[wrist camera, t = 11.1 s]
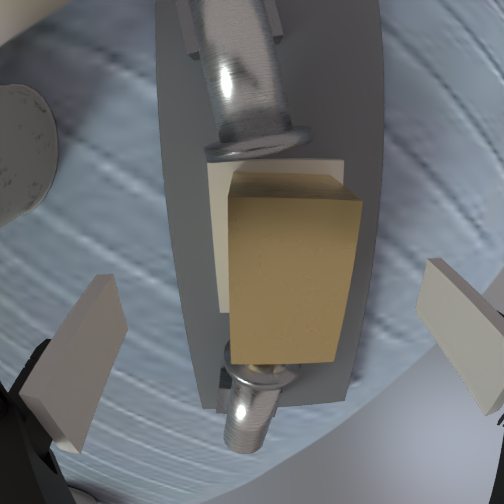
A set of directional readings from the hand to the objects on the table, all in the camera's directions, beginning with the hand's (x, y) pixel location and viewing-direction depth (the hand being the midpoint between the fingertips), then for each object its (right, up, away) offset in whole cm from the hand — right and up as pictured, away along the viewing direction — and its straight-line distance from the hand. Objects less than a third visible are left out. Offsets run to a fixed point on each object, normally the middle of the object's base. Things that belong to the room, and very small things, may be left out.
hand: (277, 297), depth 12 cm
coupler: (+1, +2, +5) cm, 6 cm away
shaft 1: (-2, +11, +1) cm, 12 cm away
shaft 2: (-1, -6, +10) cm, 12 cm away
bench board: (0, +3, +7) cm, 7 cm away
